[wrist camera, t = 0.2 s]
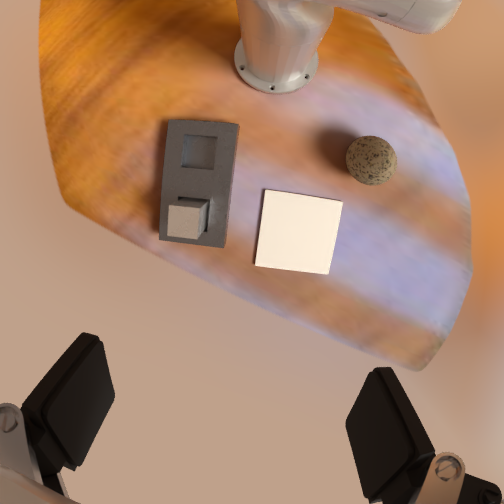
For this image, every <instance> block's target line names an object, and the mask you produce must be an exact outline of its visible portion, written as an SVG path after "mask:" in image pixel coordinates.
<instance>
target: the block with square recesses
mask: <svg viewBox="0 0 504 504" xmlns="http://www.w3.org/2000/svg"><path fill="white" fill-rule="evenodd" d="M239 127H240V126H239V124H234V123H223V122H210V121H193V120H169V122H168V130H167V138H166V147H165V156H164V166H163V177H162V190H161V205H160V225H159V240H163V241H171V242H179V243H187V244H195V245H203V246H211V247H218V248H224V246H225V243H226V236H227V227H228V218H229V209H230V200H231V191H232V183H233V174H234V166H235V158H236V150H237V143H238V135H239ZM184 197H190V198H199V199H209V200H210V207H209V218H208V226H207V227H206V228H205V230H204V231H203V232H202V234H201V235H200V236H199V238H198V239H190V238H182V237H174V236H167V231H168V213H169V205H170V204H172V203H174V202H176V201H178V200H180V199H182V198H184Z"/></svg>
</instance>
